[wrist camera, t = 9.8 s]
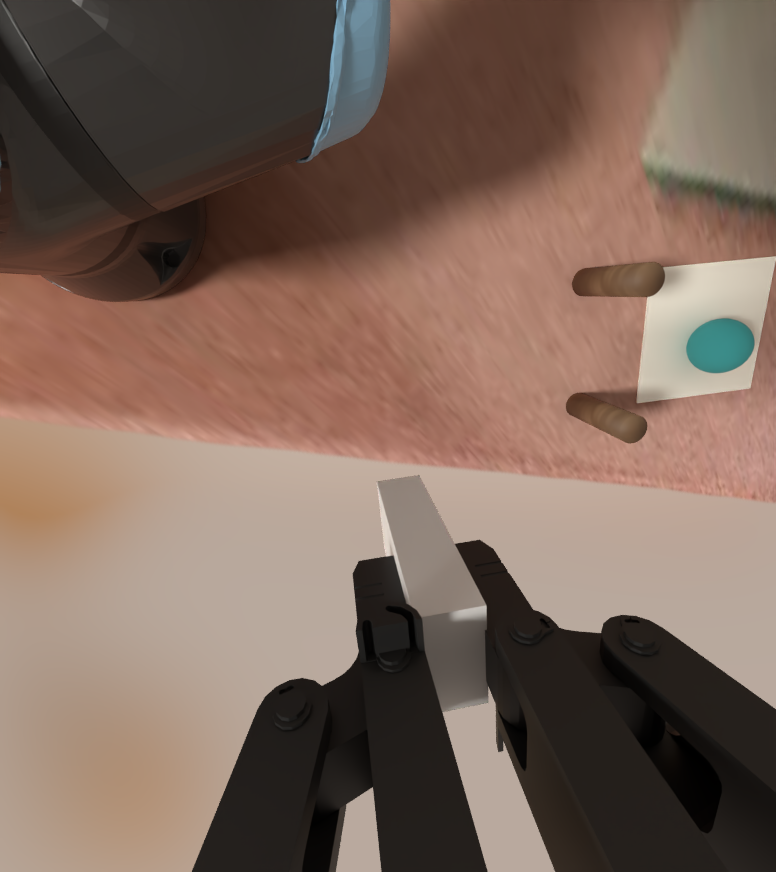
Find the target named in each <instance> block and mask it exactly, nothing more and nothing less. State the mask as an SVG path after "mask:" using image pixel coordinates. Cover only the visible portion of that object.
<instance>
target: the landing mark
mask: <svg viewBox="0 0 776 872" xmlns="http://www.w3.org/2000/svg"><path fill="white" fill-rule="evenodd" d="M775 261H776V256H774V257H764V258H753V259H743V260H733V261H723V262H712V263H702V264H692V265H681V266H671V267H663V269H664V271H665V281H664V284H663V286H662V288H661V289H660V290H659V291H658V292H657V293H656V294H655V295H653V296H650V297H647V305H646V314H645V323H644V332H643V342H642V351H641V360H640V369H639V379H638V388H637V397H636V403H644V402H651V401H659V400H666V399H674V398H682V397H689V396H697V395H704V394H712V393H719V392H727V391H734V390H742V389H749V388H750V387H751V382H752V377H753V372H754V367H755V362H756V357H757V352H758V347H759V342H760V337H761V332H762V327H763V322H764V317H765V312H766V307H767V302H768V297H769V292H770V287H771V282H772V277H773V272H774V266H775ZM722 318H729V319H734V320H738V321H740V322H742V323H744V324H745V325H746V326H748V327H749V328H750V330H751V331H752V333H753V335H754V340H755V345H754V349H753V352H752V354H751V356H750V357H749V358H748V360H747V361H746V362H745V363H744V364H742V365H741V366H739V367H738V368H736V369H734V370H731V371H728V372H724V373H708V372H704V371H702V370H699V369H698V368H696V367H695V366H694V365H693V364H692V363H691V362H690V361H689V359H688V356H687V352H686V346H687V342H688V339H689V338H690V336H691V334H692V333H693V332H694V331H695V330H696V329H697V328H698V327H700V326H701V325H703V324H704V323H706V322H709V321H711V320H715V319H722Z"/></svg>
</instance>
